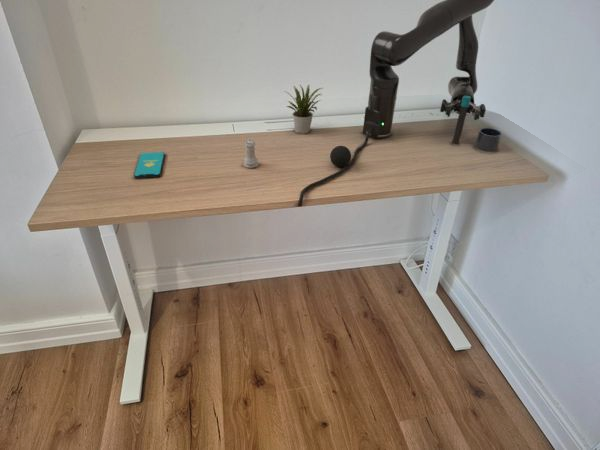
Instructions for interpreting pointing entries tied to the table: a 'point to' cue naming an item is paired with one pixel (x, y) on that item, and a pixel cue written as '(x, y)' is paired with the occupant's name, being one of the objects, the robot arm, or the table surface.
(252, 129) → the table surface
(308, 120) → the house plant
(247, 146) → the rook chess piece
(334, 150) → the black round ball
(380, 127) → the robot arm
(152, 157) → the passport
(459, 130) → the marker
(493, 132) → the pen cup
